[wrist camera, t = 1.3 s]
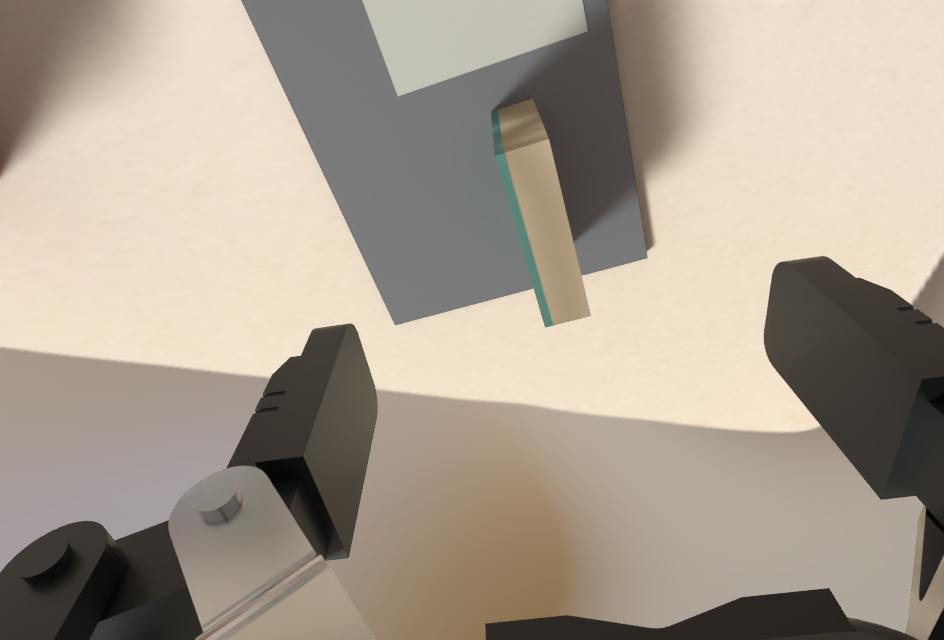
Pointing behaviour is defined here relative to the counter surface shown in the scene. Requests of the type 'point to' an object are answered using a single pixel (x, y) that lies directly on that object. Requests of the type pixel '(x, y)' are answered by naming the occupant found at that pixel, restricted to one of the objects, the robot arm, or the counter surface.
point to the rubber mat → (455, 133)
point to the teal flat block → (539, 211)
